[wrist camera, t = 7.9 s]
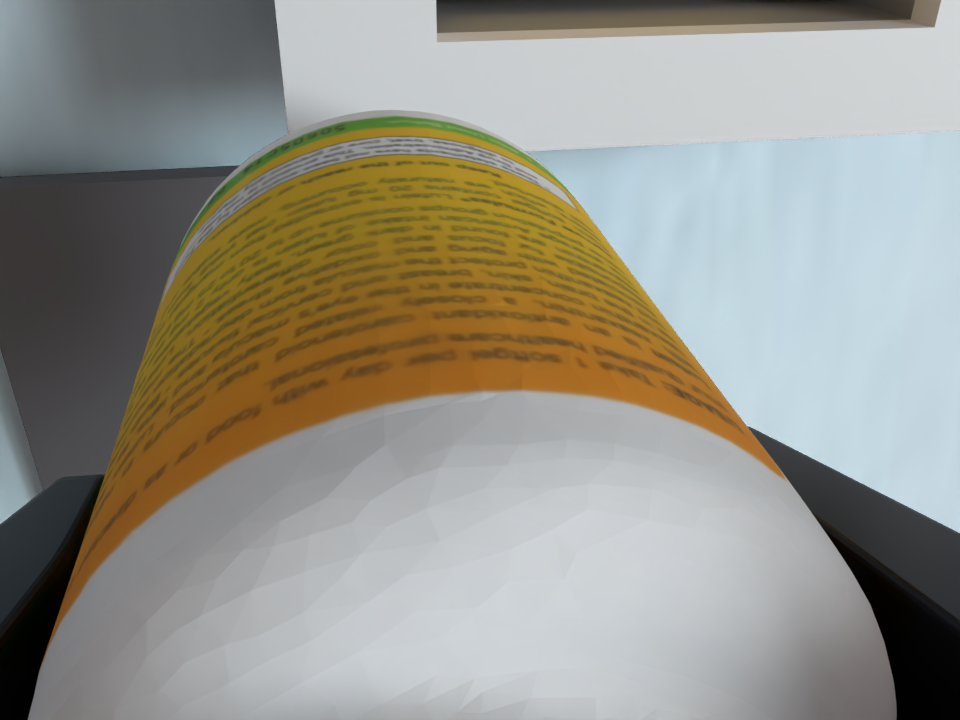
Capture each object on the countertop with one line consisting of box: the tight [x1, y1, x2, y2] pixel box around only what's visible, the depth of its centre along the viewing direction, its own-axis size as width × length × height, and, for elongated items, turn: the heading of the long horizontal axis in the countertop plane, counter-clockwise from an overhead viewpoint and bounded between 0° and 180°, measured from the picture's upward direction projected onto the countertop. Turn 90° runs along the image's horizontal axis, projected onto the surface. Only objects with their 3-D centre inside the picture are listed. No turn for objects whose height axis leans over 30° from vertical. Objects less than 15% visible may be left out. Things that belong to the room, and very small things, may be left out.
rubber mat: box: [0, 166, 239, 490], centre depth 20 cm, size 8×8×1 cm
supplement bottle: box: [28, 110, 897, 720], centre depth 7 cm, size 5×5×10 cm
